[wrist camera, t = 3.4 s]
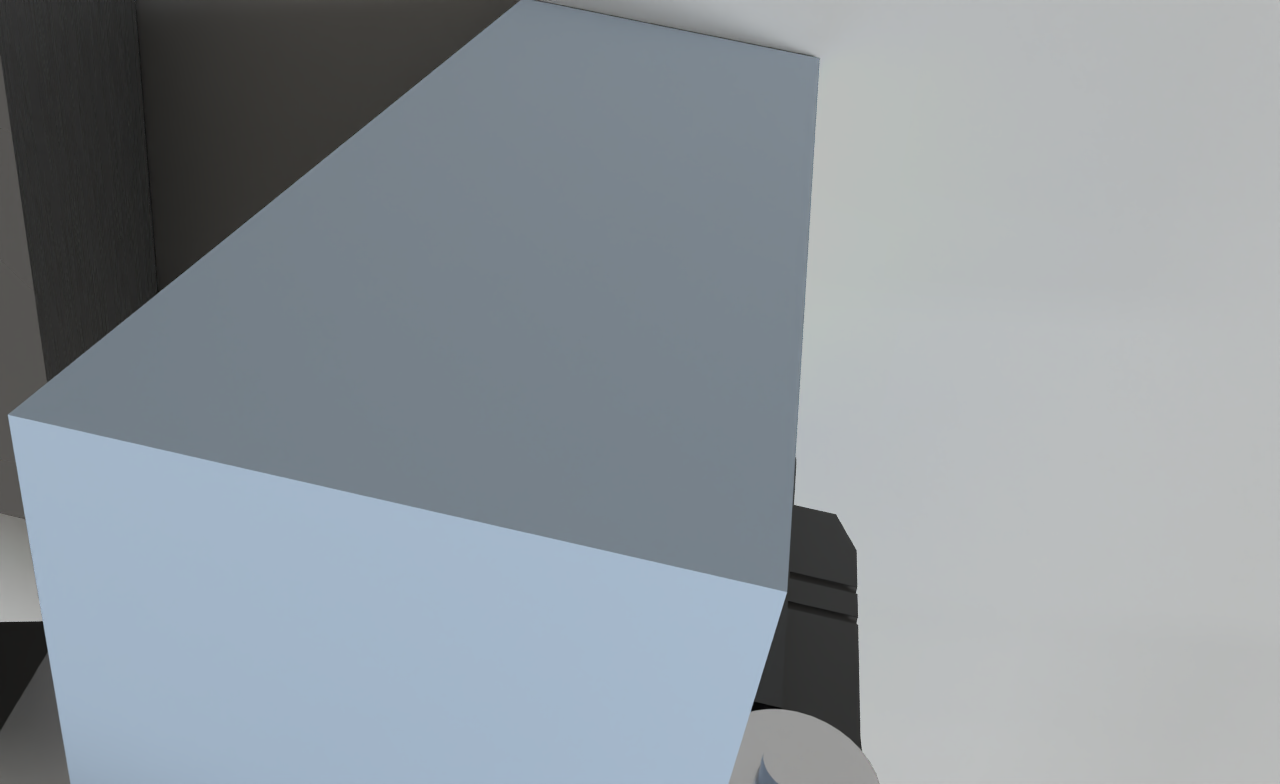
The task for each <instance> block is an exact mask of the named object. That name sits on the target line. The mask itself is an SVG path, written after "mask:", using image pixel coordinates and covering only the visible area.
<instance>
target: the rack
mask: <svg viewBox="0 0 1280 784" xmlns="http://www.w3.org/2000/svg"><path fill="white" fill-rule="evenodd" d="M156 294H158V293H157V280H156V267H155V254H154V241H153V228H152V215H151V202H150V189H149V176H148V163H147V150H146V137H145V124H144V110H143V97H142V84H141V71H140V58H139V45H138V32H137V19H136V6H135V0H0V513H2V514H7V515H11V516H15V517H19V518H24V519H25V513H24V507H23V502H22V496H21V490H20V484H19V478H18V472H17V466H16V460H15V455H14V449H13V443H12V437H11V431H10V425H9V419H8V414H9V413H10V412H12V411H13V410H14V409H15V408H17V407H18V406H19V405H20V404H22V403H23V402H24V401H25V400H27V399H28V398H29V397H30V396H31V395H33V394H34V393H35V392H36V391H38V390H39V389H40V388H41V387H43V386H44V385H45V384H46V383H48V382H49V381H50V380H51V379H53V378H54V377H55V376H56V375H57V374H59V373H60V372H61V371H62V370H64V369H65V368H66V367H67V366H69V365H70V364H71V363H72V362H74V361H75V360H76V359H77V358H79V357H80V356H81V355H82V354H83V353H85V352H86V351H87V350H88V349H90V348H91V347H92V346H93V345H95V344H96V343H97V342H98V341H100V340H101V339H102V338H103V337H104V336H106V335H107V334H108V333H109V332H111V331H112V330H113V329H114V328H116V327H117V326H118V325H119V324H121V323H122V322H123V321H124V320H126V319H127V318H128V317H129V316H130V315H132V314H133V313H134V312H135V311H137V310H138V309H139V308H140V307H142V306H143V305H144V304H145V303H147V302H148V301H149V300H150V299H152V298H153V297H154V296H155V295H156Z"/></svg>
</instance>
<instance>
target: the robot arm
mask: <svg viewBox="0 0 1280 784" xmlns="http://www.w3.org/2000/svg"><path fill="white" fill-rule="evenodd" d="M795 476H796V457H795V471H794V487H793V504H792V520H791V537H790V553H789V569H788V586H787V594H786V597H785V601H784V604H783V607H782V610H781V614H780V617H779V620H778V624H777V627H776V630H775V633H774V637H773V640H772V643H771V646H770V650H769V653H768V656H767V660H766V663H765V666H764V669H763V673H762V676H761V679H760V682H759V686H758V689H757V692H756V696H755V699H754V702H753V705H752V709H751V712H750V715H749V718H748V722H747V725H746V728H745V731H744V735H743V738H742V741H741V745H740V748H739V751H738V754H737V758H736V761H735V764H734V767H733V771H732V774H731V777H730V781H729V784H879V781H878V778H877V775H876V772H875V771H874V769H873V767H872V765H871V763H870V761H869V760H868V759H867V757H866V756H865V755H864V753H863V752H862V748H861V739H860V698H859V649H858V625H857V624H856V623H857V618H858V601H857V594H856V589H857V552H856V549H855V547H854V545H853V543H852V542H851V540H850V538H849V536H848V535H847V533H846V531H845V529H844V528H843V526H842V524H841V522H840V521H839V519H838V517H837V515H836V514H832V513H827V512H823V511H818V510H814V509H809V508H805V507H800V506H796V505H794V493H795ZM0 784H70V778H69V772H68V766H67V760H66V754H65V748H64V742H63V737H62V731H61V725H60V719H59V713H58V707H57V701H56V695H55V690H54V684H53V678H52V672H51V666H50V660H49V654H48V648H47V643H46V637H45V631H44V625H43V621H39V622H0Z"/></svg>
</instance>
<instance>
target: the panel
mask: <svg viewBox="0 0 1280 784" xmlns="http://www.w3.org/2000/svg"><path fill="white" fill-rule="evenodd" d="M819 60H820V58H816V57H811V56H806V55H801V54H796V53H792V52H787V51H782V50H777V49H772V48H767V47H762V46H757V45H752V44H747V43H742V42H737V41H732V40H727V39H723V38H718V37H713V36H708V35H703V34H698V33H693V32H688V31H683V30H678V29H673V28H668V27H663V26H658V25H654V24H649V23H644V22H639V21H634V20H629V19H624V18H619V17H614V16H609V15H604V14H599V13H594V12H589V11H585V10H580V9H575V8H570V7H565V6H560V5H555V4H550V3H545V2H540V1H535V0H520V1H519V2H518V3H517V4H515V5H514V6H513V7H512V8H510V9H509V10H508V11H507V12H505V13H504V14H503V15H502V16H500V17H499V18H498V19H497V20H495V21H494V22H493V23H492V24H491V25H489V26H488V27H487V28H486V29H484V30H483V31H482V32H481V33H479V34H478V35H477V36H476V37H474V38H473V39H472V40H471V41H469V42H468V43H467V44H466V45H465V46H463V47H462V48H461V49H460V50H458V51H457V52H456V53H455V54H453V55H452V56H451V57H450V58H448V59H447V60H446V61H445V62H444V63H442V64H441V65H440V66H439V67H437V68H436V69H435V70H434V71H432V72H431V73H430V74H429V75H427V76H426V77H425V78H424V79H422V80H421V81H420V82H419V83H418V84H416V85H415V86H414V87H413V88H411V89H410V90H409V91H408V92H406V93H405V94H404V95H403V96H401V97H400V98H399V99H398V100H396V101H395V102H394V103H393V104H392V105H390V106H389V107H388V108H387V109H385V110H384V111H383V112H382V113H380V114H379V115H378V116H377V117H375V118H374V119H373V120H372V121H371V122H369V123H368V124H367V125H366V126H364V127H363V128H362V129H361V130H359V131H358V132H357V133H356V134H354V135H353V136H352V137H351V138H349V139H348V140H347V141H346V142H345V143H343V144H342V145H341V146H340V147H338V148H337V149H336V150H335V151H333V152H332V153H331V154H330V155H328V156H327V157H326V158H325V159H323V160H322V161H321V162H320V163H319V164H317V165H316V166H315V167H314V168H312V169H311V170H310V171H309V172H307V173H306V174H305V175H304V176H302V177H301V178H300V179H299V180H298V181H296V182H295V183H294V184H293V185H291V186H290V187H289V188H288V189H286V190H285V191H284V192H283V193H281V194H280V195H279V196H278V197H276V198H275V199H274V200H273V201H272V202H270V203H269V204H268V205H267V206H265V207H264V208H263V209H262V210H260V211H259V212H258V213H257V214H255V215H254V216H253V217H252V218H250V219H249V220H248V221H247V222H246V223H244V224H243V225H242V226H241V227H239V228H238V229H237V230H236V231H234V232H233V233H232V234H231V235H229V236H228V237H227V238H226V239H225V240H223V241H222V242H221V243H220V244H218V245H217V246H216V247H215V248H213V249H212V250H211V251H210V252H208V253H207V254H206V255H205V256H203V257H202V258H201V259H200V260H199V261H197V262H196V263H195V264H194V265H192V266H191V267H190V268H189V269H187V270H186V271H185V272H184V273H182V274H181V275H180V276H179V277H177V278H176V279H175V280H174V281H173V282H171V283H170V284H169V285H168V286H166V287H165V288H164V289H163V290H161V291H160V292H159V293H158V294H156V295H155V296H154V297H153V298H152V299H150V300H149V301H148V302H147V303H145V304H144V305H143V306H142V307H140V308H139V309H138V310H137V311H135V312H134V313H133V314H132V315H130V316H129V317H128V318H127V319H126V320H124V321H123V322H122V323H121V324H119V325H118V326H117V327H116V328H114V329H113V330H112V331H111V332H109V333H108V334H107V335H106V336H104V337H103V338H102V339H101V340H100V341H98V342H97V343H96V344H95V345H93V346H92V347H91V348H90V349H88V350H87V351H86V352H85V353H83V354H82V355H81V356H80V357H79V358H77V359H76V360H75V361H74V362H72V363H71V364H70V365H69V366H67V367H66V368H65V369H64V370H62V371H61V372H60V373H59V374H57V375H56V376H55V377H54V378H53V379H51V380H50V381H49V382H48V383H46V384H45V385H44V386H43V387H41V388H40V389H39V390H38V391H36V392H35V393H34V394H33V395H31V396H30V397H29V398H28V399H27V400H25V401H24V402H23V403H22V404H20V405H19V406H18V407H17V408H15V409H14V410H13V411H12V412H10V413H9V414H8V419H9V425H10V431H11V437H12V443H13V449H14V455H15V460H16V466H17V472H18V478H19V484H20V490H21V496H22V502H23V507H24V513H25V519H26V525H27V531H28V537H29V543H30V549H31V554H32V560H33V566H34V572H35V578H36V584H37V590H38V596H39V601H40V607H41V613H42V619H43V625H44V631H45V637H46V643H47V648H48V654H49V660H50V666H51V672H52V678H53V684H54V690H55V695H56V701H57V707H58V713H59V719H60V725H61V731H62V737H63V742H64V748H65V754H66V760H67V766H68V772H69V778H70V784H729V781H730V777H731V774H732V771H733V767H734V764H735V761H736V758H737V754H738V751H739V748H740V745H741V741H742V738H743V735H744V731H745V728H746V725H747V722H748V718H749V715H750V712H751V709H752V705H753V702H754V699H755V696H756V692H757V689H758V686H759V682H760V679H761V676H762V673H763V669H764V666H765V663H766V660H767V656H768V653H769V650H770V646H771V643H772V640H773V637H774V633H775V630H776V627H777V624H778V620H779V617H780V614H781V610H782V607H783V604H784V601H785V597H786V594H787V586H788V569H789V553H790V537H791V520H792V504H793V487H794V471H795V454H796V438H797V422H798V405H799V389H800V372H801V356H802V340H803V323H804V307H805V290H806V274H807V257H808V241H809V225H810V208H811V192H812V175H813V159H814V143H815V126H816V110H817V93H818V77H819Z"/></svg>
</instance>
